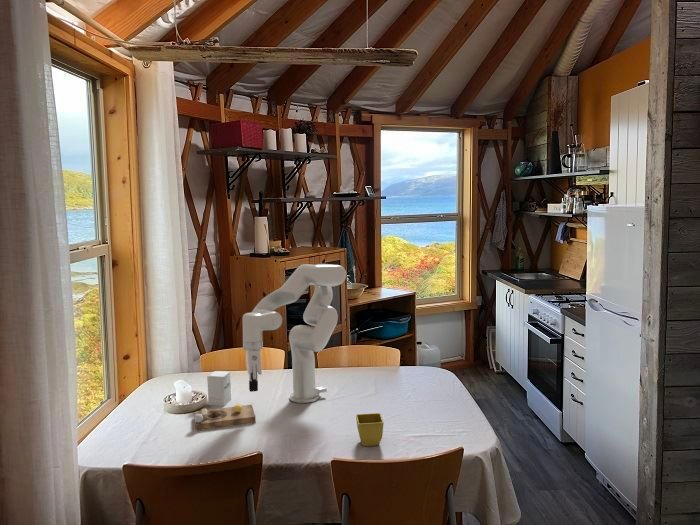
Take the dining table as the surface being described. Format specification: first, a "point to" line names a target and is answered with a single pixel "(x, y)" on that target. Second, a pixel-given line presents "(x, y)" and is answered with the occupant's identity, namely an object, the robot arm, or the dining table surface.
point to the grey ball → (198, 418)
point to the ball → (237, 408)
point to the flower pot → (370, 428)
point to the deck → (225, 417)
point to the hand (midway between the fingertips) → (253, 390)
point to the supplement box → (219, 388)
